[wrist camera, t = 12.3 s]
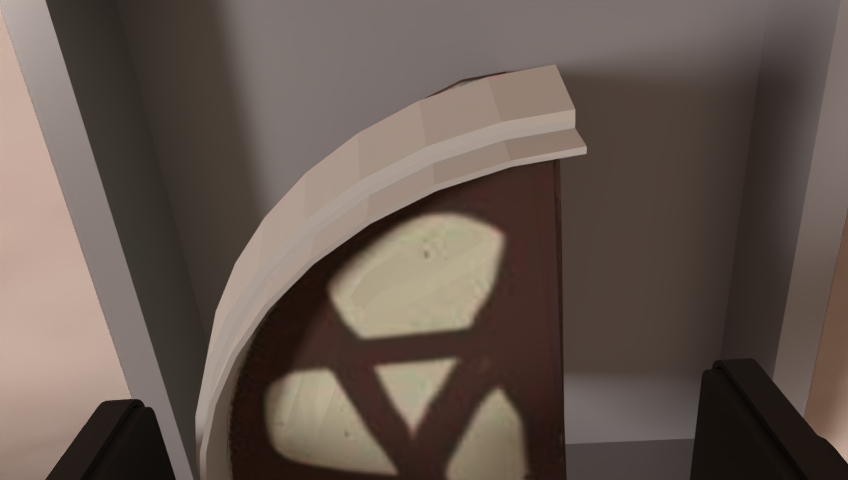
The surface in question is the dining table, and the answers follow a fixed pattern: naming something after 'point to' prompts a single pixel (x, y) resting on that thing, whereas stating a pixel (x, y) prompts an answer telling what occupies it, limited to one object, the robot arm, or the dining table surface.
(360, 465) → the food container
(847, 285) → the dining table surface
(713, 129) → the tray
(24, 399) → the dining table surface
